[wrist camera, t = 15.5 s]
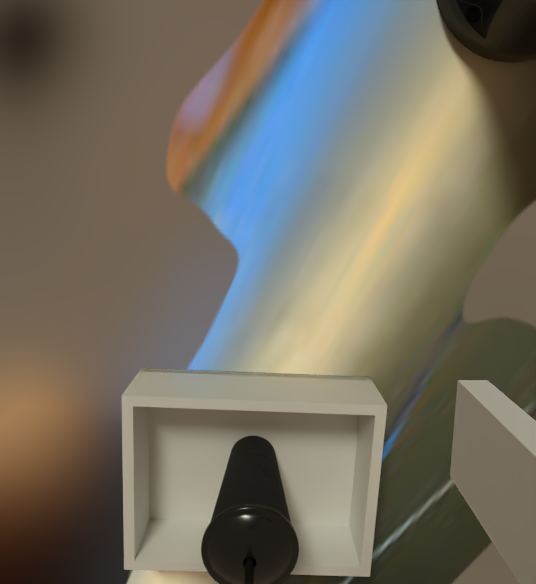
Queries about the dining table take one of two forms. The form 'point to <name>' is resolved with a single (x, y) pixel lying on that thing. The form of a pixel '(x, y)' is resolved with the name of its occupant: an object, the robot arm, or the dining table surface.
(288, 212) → the dining table surface
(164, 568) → the box
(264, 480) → the drinking cup
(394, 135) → the dining table surface
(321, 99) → the dining table surface
